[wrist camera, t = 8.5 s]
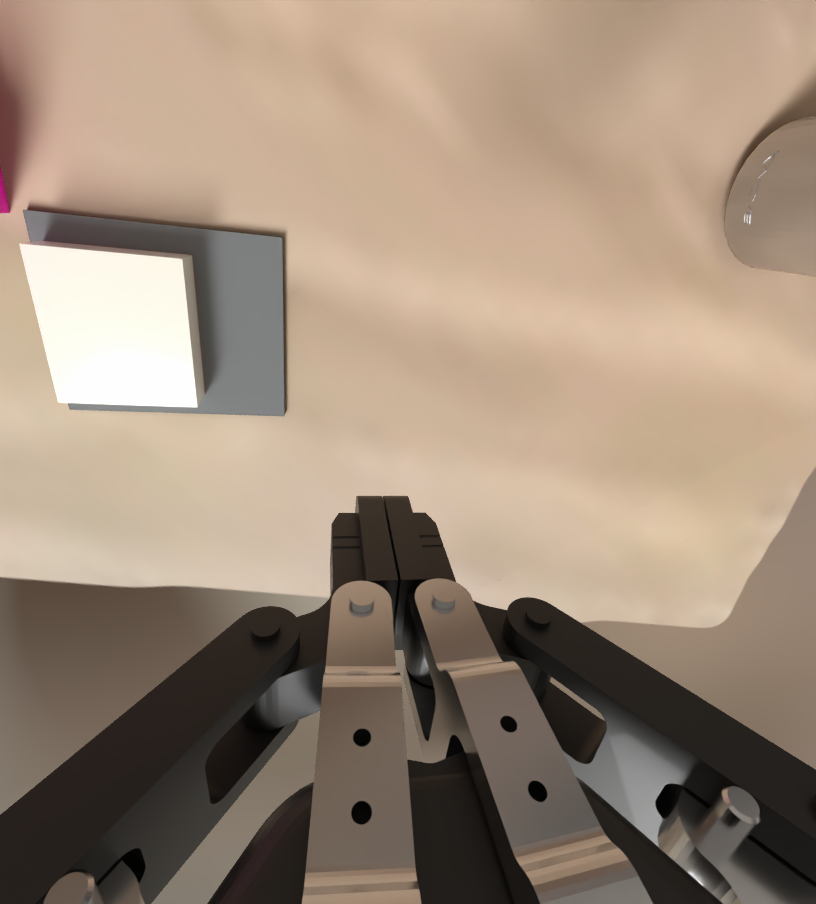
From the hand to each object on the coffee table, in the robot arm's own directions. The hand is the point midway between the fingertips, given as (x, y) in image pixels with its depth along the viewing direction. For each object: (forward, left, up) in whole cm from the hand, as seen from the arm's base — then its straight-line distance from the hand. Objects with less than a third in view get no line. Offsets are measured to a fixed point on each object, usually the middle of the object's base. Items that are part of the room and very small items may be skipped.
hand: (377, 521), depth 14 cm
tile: (+9, 0, -20) cm, 22 cm away
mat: (+11, 0, -22) cm, 24 cm away
